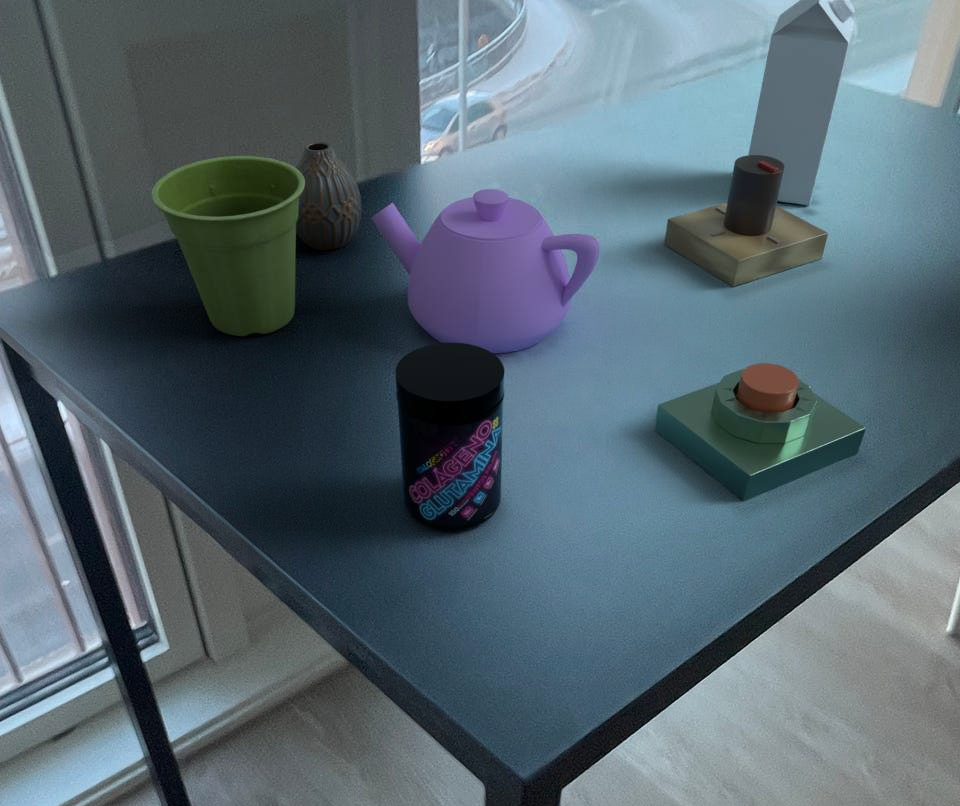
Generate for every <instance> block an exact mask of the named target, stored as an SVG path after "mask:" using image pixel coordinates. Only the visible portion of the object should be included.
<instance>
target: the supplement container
mask: <svg viewBox="0 0 960 806" xmlns="http://www.w3.org/2000/svg"><path fill="white" fill-rule="evenodd" d="M394 372H395V373H394V375H395V396H396V397H395V399H396V401H397V413H398V414H397V415H398V416H397V417H398V428H399V445H400V460H401V461H400V462H401V463H400V464H401V477H402V478H401V479H402V496H403V503H404V506H405V508H406V510H407V513H408V514H409V515H410V516H411V517H412V518H413V519H414V520H415V521H417V522H418V523H419V524H421V525H422V526H424V527H427V528H429V529H432V530H436V531H439V532H445V533H446V532H448V533H456V532H464V531H469V530H472V529H475V528H477V527H479V526H482V525H483V524H485V523H486V522H488V521H489V520H490V519H491V518H492V517H493V516H494V515H495V513H496V512H497V510H498V508H499V506H500V504H501V500H502V471H503V470H502V465H503V427H504V424H503V423H504V399H505V366H504V364H503V362H502V360H501V359H500V358H499V357H498V356H497V355H496V354H495V353H491V352H490V351H488V350H486V349H483V348H481V347H478V346H474V345H470V344H464V343H441V342H436V343H431V344H427V345H423V346H420V347H418V348H415V349H413V350H412V351H409V352H408V353H406V354H404V356H402V357H401V358H400V359H399V361H398V363H397V364H396V366H395V371H394Z"/></svg>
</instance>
